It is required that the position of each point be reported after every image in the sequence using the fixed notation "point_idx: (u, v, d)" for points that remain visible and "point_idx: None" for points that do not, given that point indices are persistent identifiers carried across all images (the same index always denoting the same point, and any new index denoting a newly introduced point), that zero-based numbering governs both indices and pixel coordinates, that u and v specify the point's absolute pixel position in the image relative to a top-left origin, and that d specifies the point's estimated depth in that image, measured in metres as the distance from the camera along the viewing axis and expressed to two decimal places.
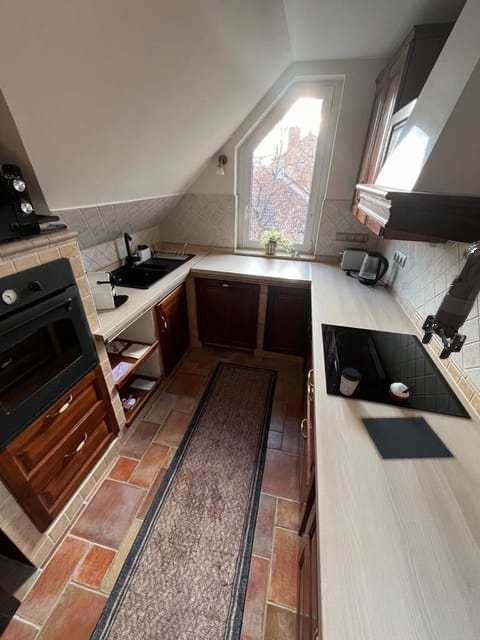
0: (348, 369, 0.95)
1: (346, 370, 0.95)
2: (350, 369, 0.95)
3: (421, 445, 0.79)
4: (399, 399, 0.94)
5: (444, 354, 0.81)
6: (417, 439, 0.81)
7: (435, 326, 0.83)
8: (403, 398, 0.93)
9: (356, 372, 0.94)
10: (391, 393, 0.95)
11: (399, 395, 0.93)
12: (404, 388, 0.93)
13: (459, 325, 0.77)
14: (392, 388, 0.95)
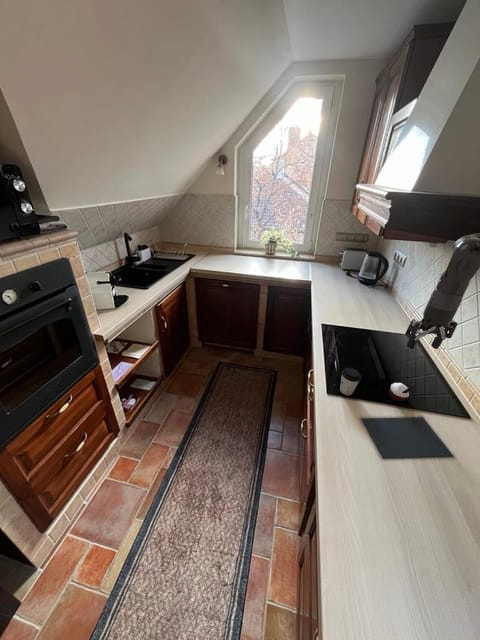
0: (348, 369, 0.95)
1: (346, 370, 0.95)
2: (350, 369, 0.95)
3: (421, 445, 0.79)
4: (399, 399, 0.94)
5: None
6: (417, 439, 0.81)
7: None
8: (403, 398, 0.93)
9: (356, 372, 0.94)
10: (391, 393, 0.95)
11: (399, 395, 0.93)
12: (404, 388, 0.93)
13: (427, 315, 0.78)
14: (392, 388, 0.95)
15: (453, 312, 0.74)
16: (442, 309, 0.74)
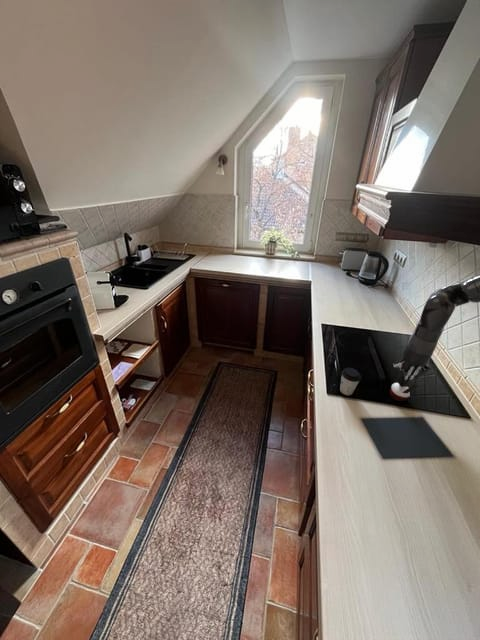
0: (348, 369, 0.95)
1: (346, 370, 0.95)
2: (350, 369, 0.95)
3: (421, 445, 0.79)
4: (400, 399, 0.93)
5: None
6: (417, 439, 0.81)
7: None
8: (404, 398, 0.93)
9: (356, 372, 0.94)
10: (392, 393, 0.95)
11: (400, 395, 0.93)
12: (405, 388, 0.93)
13: (406, 356, 0.86)
14: (393, 388, 0.95)
15: (428, 355, 0.82)
16: (418, 352, 0.82)
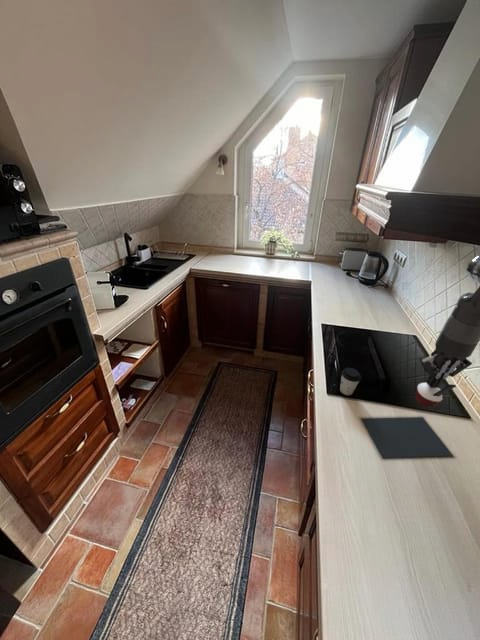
0: (348, 369, 0.95)
1: (346, 370, 0.95)
2: (350, 369, 0.95)
3: (421, 445, 0.79)
4: (429, 404, 0.72)
5: None
6: (417, 439, 0.81)
7: None
8: (434, 402, 0.71)
9: (356, 372, 0.94)
10: (418, 395, 0.74)
11: (429, 398, 0.71)
12: (436, 389, 0.72)
13: (440, 347, 0.64)
14: (420, 389, 0.73)
15: (473, 345, 0.60)
16: (459, 341, 0.61)
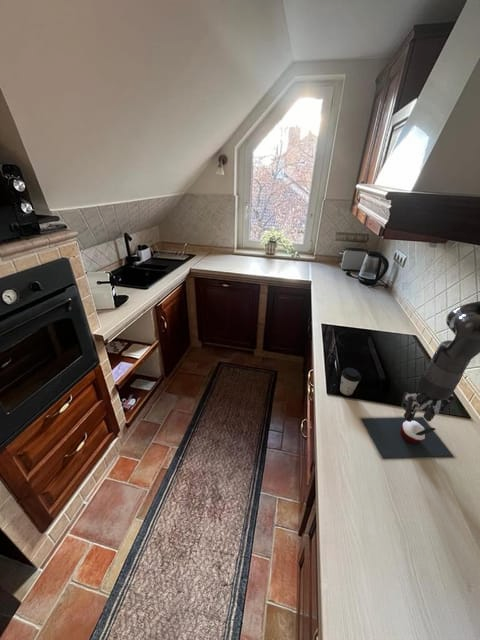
0: (348, 369, 0.95)
1: (346, 370, 0.95)
2: (350, 369, 0.95)
3: (421, 445, 0.79)
4: (412, 441, 0.78)
5: None
6: None
7: None
8: (417, 441, 0.77)
9: (356, 372, 0.94)
10: (403, 433, 0.80)
11: (412, 437, 0.77)
12: (419, 429, 0.77)
13: (422, 388, 0.70)
14: (404, 427, 0.79)
15: (452, 389, 0.65)
16: (439, 385, 0.66)
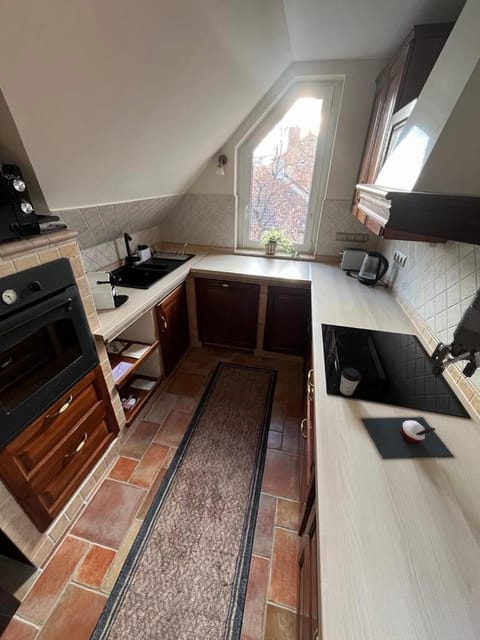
0: (348, 369, 0.95)
1: (346, 370, 0.95)
2: (350, 369, 0.95)
3: (421, 445, 0.79)
4: (412, 441, 0.78)
5: None
6: None
7: None
8: (417, 441, 0.77)
9: (356, 372, 0.94)
10: (403, 433, 0.80)
11: (412, 437, 0.77)
12: (419, 429, 0.77)
13: (458, 338, 0.62)
14: (404, 427, 0.79)
15: None
16: None
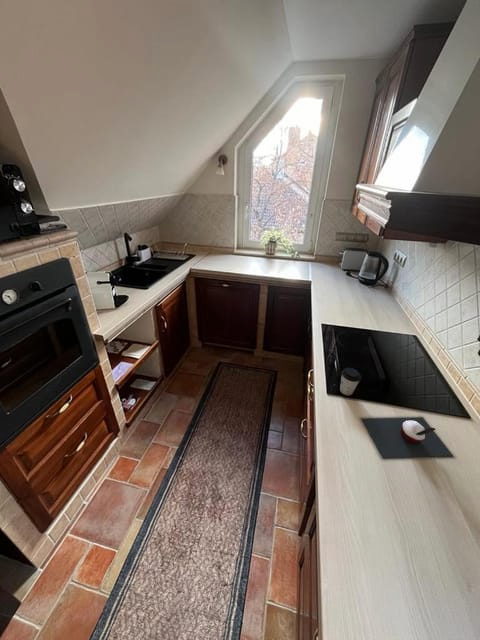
0: (348, 369, 0.95)
1: (346, 370, 0.95)
2: (350, 369, 0.95)
3: (421, 445, 0.79)
4: (412, 441, 0.78)
5: None
6: None
7: None
8: (417, 441, 0.77)
9: (356, 372, 0.94)
10: (403, 433, 0.80)
11: (412, 437, 0.77)
12: (419, 429, 0.77)
13: None
14: (404, 427, 0.79)
15: None
16: None
